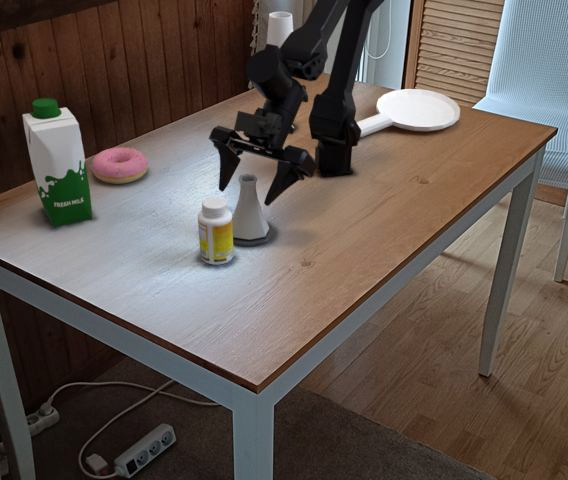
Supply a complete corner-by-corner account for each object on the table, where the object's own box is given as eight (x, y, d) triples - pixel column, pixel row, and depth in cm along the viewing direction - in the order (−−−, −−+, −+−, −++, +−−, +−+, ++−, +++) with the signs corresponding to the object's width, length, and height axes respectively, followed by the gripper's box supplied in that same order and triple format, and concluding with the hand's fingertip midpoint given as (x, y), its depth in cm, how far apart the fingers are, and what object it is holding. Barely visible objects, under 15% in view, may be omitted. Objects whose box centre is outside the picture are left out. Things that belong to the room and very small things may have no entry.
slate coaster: (266, 218, 135) (266, 215, 135) (279, 243, 128) (280, 240, 128) (218, 224, 133) (217, 221, 133) (229, 249, 126) (229, 247, 126)
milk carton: (85, 199, 140) (67, 93, 127) (99, 220, 133) (81, 111, 121) (38, 208, 136) (14, 101, 124) (50, 231, 130) (27, 120, 118)
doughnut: (160, 173, 148) (158, 154, 146) (116, 192, 142) (114, 172, 139) (124, 157, 154) (122, 138, 151) (81, 175, 147) (78, 155, 145)
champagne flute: (258, 129, 166) (258, 16, 151) (274, 119, 171) (275, 8, 156) (284, 136, 164) (286, 21, 149) (299, 126, 168) (303, 13, 153)
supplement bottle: (238, 252, 126) (237, 197, 119) (225, 269, 122) (223, 213, 115) (208, 246, 127) (205, 191, 121) (194, 262, 123) (190, 207, 117)
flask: (270, 240, 128) (271, 187, 122) (228, 241, 128) (227, 188, 121) (267, 219, 134) (267, 167, 127) (227, 220, 133) (225, 169, 127)
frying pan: (363, 169, 156) (365, 149, 152) (306, 134, 166) (307, 114, 163) (475, 123, 172) (479, 104, 168) (416, 93, 182) (419, 75, 179)
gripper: (212, 77, 122) (175, 164, 121) (310, 101, 114) (271, 194, 114) (240, 109, 132) (206, 190, 132) (332, 133, 124) (296, 219, 124)
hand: (243, 197), depth 125 cm, fingers open, 9 cm apart
